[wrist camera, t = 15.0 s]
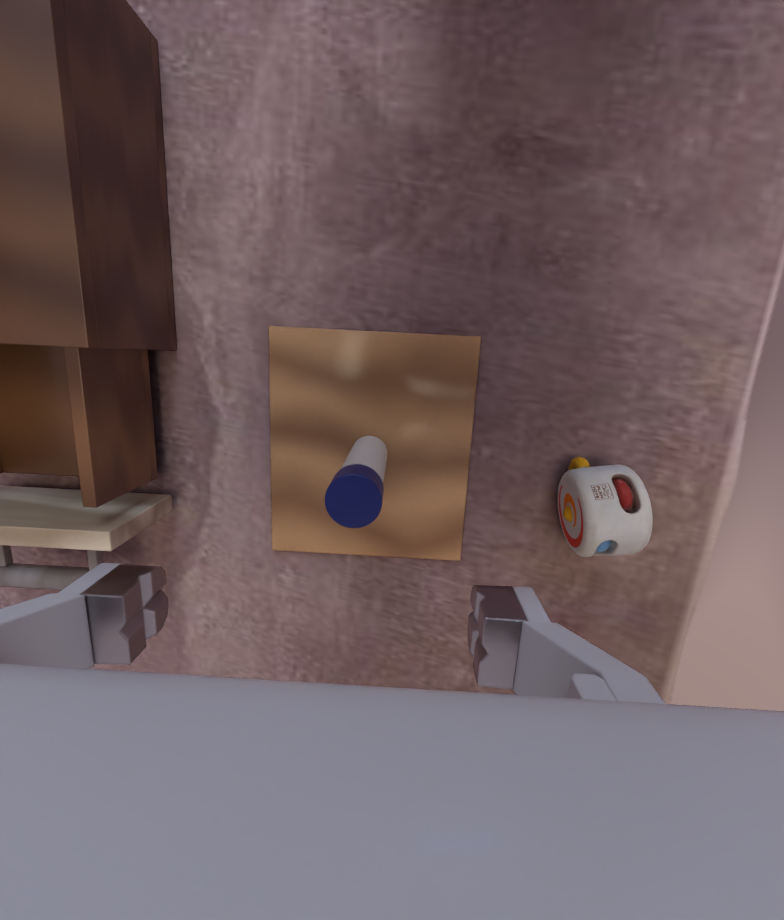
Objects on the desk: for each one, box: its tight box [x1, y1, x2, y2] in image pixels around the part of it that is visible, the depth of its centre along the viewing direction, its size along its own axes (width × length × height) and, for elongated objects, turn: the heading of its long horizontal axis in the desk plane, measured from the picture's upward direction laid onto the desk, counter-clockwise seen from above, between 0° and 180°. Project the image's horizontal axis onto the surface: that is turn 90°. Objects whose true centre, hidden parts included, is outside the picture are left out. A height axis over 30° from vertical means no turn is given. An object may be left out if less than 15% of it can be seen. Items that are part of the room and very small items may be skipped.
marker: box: [325, 436, 387, 528], centre depth 25 cm, size 3×3×10 cm
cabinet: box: [0, 0, 177, 350], centre depth 23 cm, size 18×14×9 cm
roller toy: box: [558, 457, 653, 557], centre depth 28 cm, size 4×6×6 cm
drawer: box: [0, 344, 172, 590], centre depth 27 cm, size 21×12×7 cm, turn 177°
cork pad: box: [269, 326, 481, 561], centre depth 31 cm, size 16×14×1 cm
